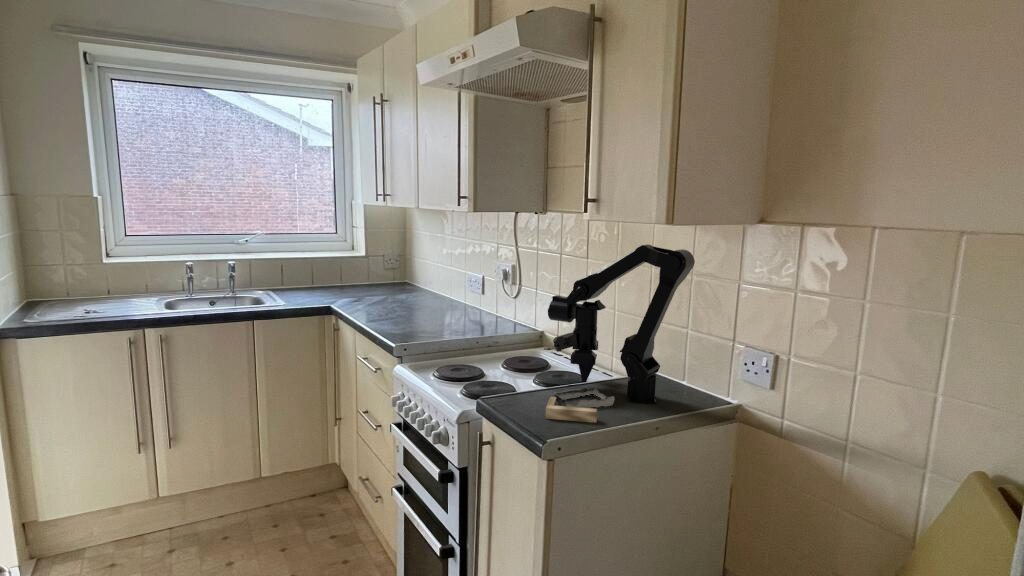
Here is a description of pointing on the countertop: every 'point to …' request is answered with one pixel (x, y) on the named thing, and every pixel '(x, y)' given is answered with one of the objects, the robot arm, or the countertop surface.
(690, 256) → the robot arm
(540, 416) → the countertop surface
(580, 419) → the oak fence
